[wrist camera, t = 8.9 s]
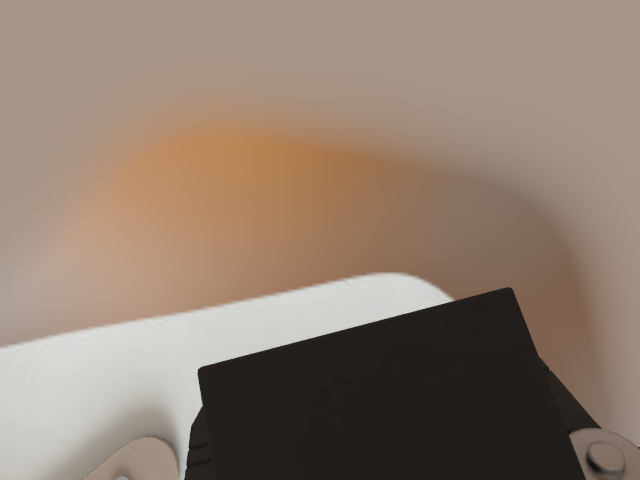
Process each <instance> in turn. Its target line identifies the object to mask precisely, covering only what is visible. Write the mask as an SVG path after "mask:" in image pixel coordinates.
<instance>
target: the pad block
mask: <svg viewBox="0 0 640 480" xmlns="http://www.w3.org/2000/svg"><path fill="white" fill-rule="evenodd" d="M198 379H199V385H200V391H201V398H202V404H203V410H204V416H205V422H206V428H207V434H208V441H209V447H210V453H211V459H212V465H213V471H214V477H215V480H586V478H585V475H584V473H583V470H582V467H581V465H580V462H579V460H578V457H577V454H576V452H575V449H574V447H573V444H572V442H571V439H570V436H569V434H568V431H567V429H566V426H565V423H564V421H563V418H562V416H561V413H560V411H559V408H558V405H557V403H556V400H555V398H554V395H553V392H552V390H551V387H550V385H549V382H548V379H547V377H546V374H545V372H544V369H543V367H542V364H541V361H540V359H539V356H538V354H537V351H536V349H535V346H534V344H533V341H532V338H531V336H530V333H529V330H528V328H527V325H526V323H525V320H524V317H523V315H522V312H521V310H520V307H519V305H518V302H517V299H516V297H515V294H514V292H513V290H512V288H508V287H506V288H503V289H499V290H495V291H491V292H487V293H483V294H479V295H476V296H472V297H468V298H464V299H460V300H456V301H453V302H449V303H445V304H441V305H437V306H433V307H430V308H426V309H422V310H418V311H414V312H410V313H407V314H403V315H399V316H395V317H391V318H387V319H384V320H380V321H376V322H372V323H368V324H364V325H361V326H357V327H353V328H349V329H345V330H341V331H338V332H334V333H330V334H326V335H322V336H318V337H314V338H311V339H307V340H303V341H299V342H295V343H291V344H288V345H284V346H280V347H276V348H272V349H268V350H265V351H261V352H257V353H253V354H249V355H245V356H242V357H238V358H234V359H230V360H226V361H222V362H219V363H215V364H211V365H207V366H203V367H201V368H199V369H198Z"/></svg>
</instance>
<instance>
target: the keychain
mask: <svg viewBox="0 0 640 480" xmlns="http://www.w3.org/2000/svg"><path fill="white" fill-rule="evenodd" d="M179 472H180V470H179V461H178V458H177V455H176V453H175V451H174V449H173V448H172V447H171V446H170V445H169V444H168V443H167V442H166V441H164V440H162V439H160V438H158V437H151V436H147V437H142V438H137V439H135V440H133V441H131V442H130V443H128V444H126V445H125V446H123V447H122V448H121V449H120V450H118V451H117V452H116V453H115V454H113V455H112V456H111V457H110V458H108V459H107V460H106V461H105V462H103V463H102V464H101V465H100V466H98V467H97V468H96V469H95V470H93V471H92V472H91V473H90V474H88V475H87V476H86V477H84V478H83V479H82V480H178V477H179Z"/></svg>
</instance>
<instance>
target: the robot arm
mask: <svg viewBox="0 0 640 480" xmlns="http://www.w3.org/2000/svg"><path fill="white" fill-rule="evenodd" d="M539 359H540V361H541V364H542V367H543V369H544V372H545V374H546V377H547V379H548V382H549V385H550V387H551V390H552V392H553V395H554V398H555V400H556V403H557V405H558V408H559V411H560V413H561V416H562V418H563V421H564V423H565V426H566V429H567V431H568V434H569V436H570V439H571V442H572V444H573V447H574V449H575V452H576V454H577V457H578V460H579V462H580V465H581V467H582V470H583V473H584V475H585V478H586V480H640V447H637V446H636V445H634V444H633V443H632V442H631V441H629V440H627V439H626V438H624V437H623V436H620V435H618V434H616V433H614V432H611V431H608V430H603V429H602V428H601V427H600V426H599V425H598V424H597V423H596V422H595V421H594V420H593V419H592V418H591V416H590V415H589V414H588V413H587V412H586V411H585V409H584V408H583V407H582V406H581V405H580V404H579V402H578V401H577V400H576V399H575V398H574V397H573V395H572V394H571V393H570V392H569V391H568V390H567V388H566V387H565V386H564V385H563V384H562V383H561V381H560V380H559V379H558V378H557V377H556V376H555V374H554V373H553V372H552V371H550V370H549V368H548V366H547V365H546V364H545V363H544V362H543V361H542V359H541V358H539ZM186 465H187V469H186V471H185V479H184V480H215V477H214V471H213V465H212V459H211V453H210V447H209V441H208V434H207V428H206V422H205V416H204V410H203V406H202V408H201V409H200V411H199V413H198V415H197V417H196V419H195V421H194V422H193V424H192V426H191V433H190V440H189V451H188V456H187V464H186Z"/></svg>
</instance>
